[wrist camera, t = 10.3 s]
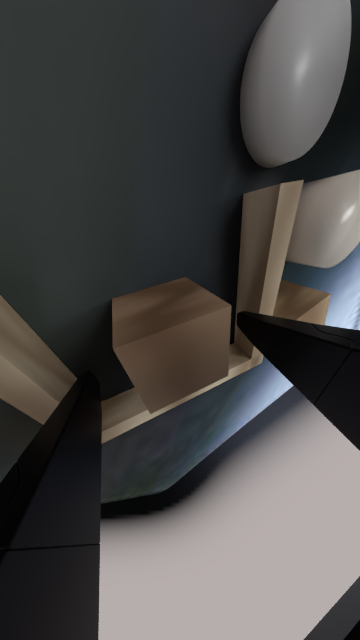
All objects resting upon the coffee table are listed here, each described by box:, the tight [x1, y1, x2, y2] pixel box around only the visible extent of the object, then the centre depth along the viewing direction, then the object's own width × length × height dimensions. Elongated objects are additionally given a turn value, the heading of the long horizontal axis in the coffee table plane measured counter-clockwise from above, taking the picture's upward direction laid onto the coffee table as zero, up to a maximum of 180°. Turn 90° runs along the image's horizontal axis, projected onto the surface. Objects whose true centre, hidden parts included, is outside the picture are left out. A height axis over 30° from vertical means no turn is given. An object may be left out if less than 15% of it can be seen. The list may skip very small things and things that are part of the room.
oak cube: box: [273, 280, 331, 325], centre depth 14 cm, size 4×4×4 cm
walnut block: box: [112, 277, 231, 414], centre depth 9 cm, size 5×5×5 cm
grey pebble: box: [240, 0, 351, 168], centre depth 7 cm, size 5×5×2 cm
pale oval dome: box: [285, 170, 360, 268], centre depth 10 cm, size 5×5×4 cm
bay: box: [0, 180, 304, 443], centre depth 10 cm, size 17×14×2 cm
